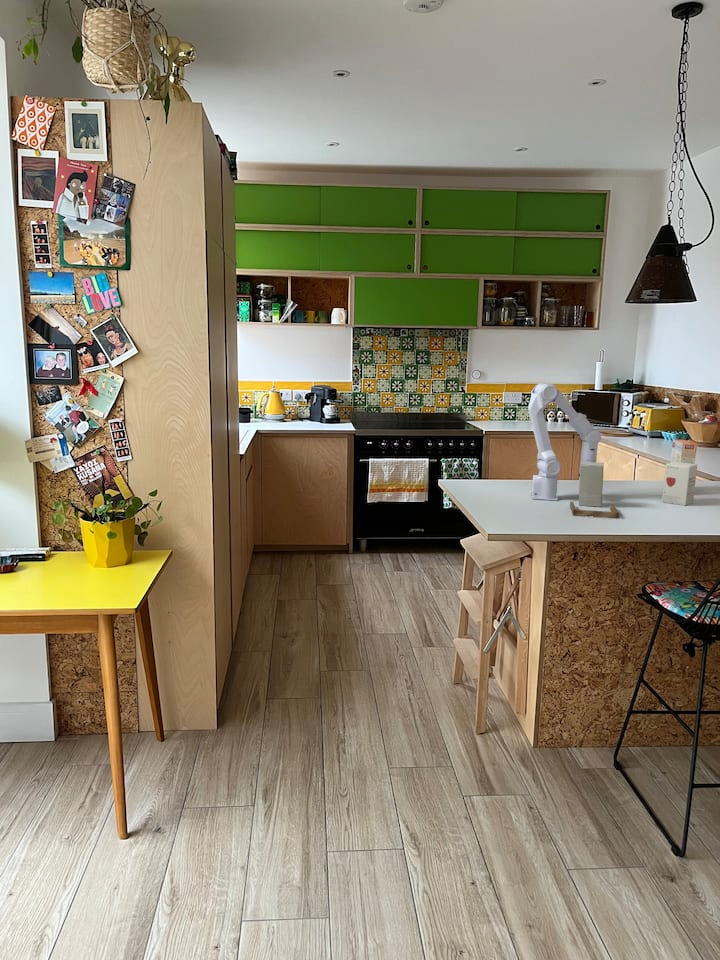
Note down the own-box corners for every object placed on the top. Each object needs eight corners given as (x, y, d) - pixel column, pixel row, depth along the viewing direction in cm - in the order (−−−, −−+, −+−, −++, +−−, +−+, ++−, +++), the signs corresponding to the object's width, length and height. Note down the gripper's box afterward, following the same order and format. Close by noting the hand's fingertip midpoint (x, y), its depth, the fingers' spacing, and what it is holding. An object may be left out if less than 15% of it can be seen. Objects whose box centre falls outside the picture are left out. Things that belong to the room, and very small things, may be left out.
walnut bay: (573, 515, 245) (573, 510, 245) (569, 507, 259) (570, 501, 259) (618, 518, 243) (619, 512, 242) (612, 509, 256) (613, 504, 256)
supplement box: (661, 502, 271) (664, 463, 268) (669, 498, 278) (673, 461, 275) (685, 506, 265) (689, 466, 262) (693, 502, 271) (698, 464, 269)
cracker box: (692, 495, 286) (697, 443, 282) (676, 494, 287) (681, 443, 283) (682, 488, 300) (687, 439, 296) (667, 487, 301) (672, 438, 297)
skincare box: (601, 504, 265) (604, 462, 262) (601, 508, 259) (604, 465, 256) (577, 502, 268) (581, 460, 265) (577, 505, 261) (580, 463, 258)
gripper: (602, 462, 265) (599, 498, 267) (597, 457, 279) (594, 491, 281) (582, 461, 266) (579, 497, 269) (578, 456, 280) (575, 490, 283)
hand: (585, 494), depth 275 cm, fingers open, 7 cm apart
